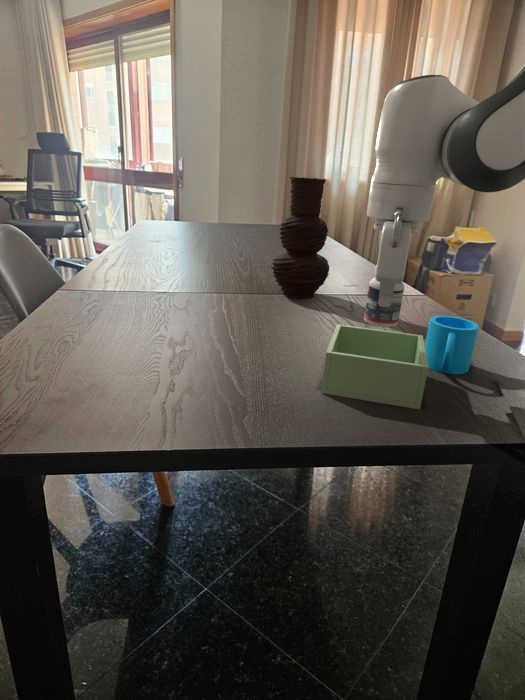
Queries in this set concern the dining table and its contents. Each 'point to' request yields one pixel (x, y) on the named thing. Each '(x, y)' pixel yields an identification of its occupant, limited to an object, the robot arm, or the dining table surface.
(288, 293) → the vase
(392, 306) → the pill bottle
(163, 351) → the dining table surface
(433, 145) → the robot arm
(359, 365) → the basket
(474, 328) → the mug
